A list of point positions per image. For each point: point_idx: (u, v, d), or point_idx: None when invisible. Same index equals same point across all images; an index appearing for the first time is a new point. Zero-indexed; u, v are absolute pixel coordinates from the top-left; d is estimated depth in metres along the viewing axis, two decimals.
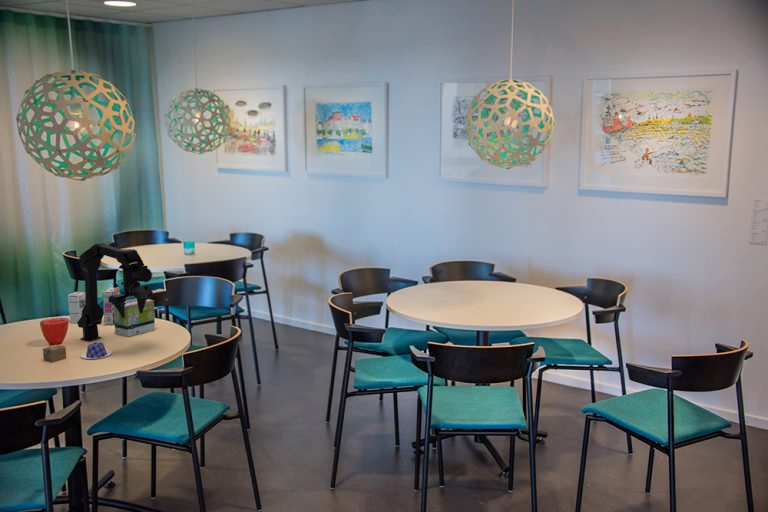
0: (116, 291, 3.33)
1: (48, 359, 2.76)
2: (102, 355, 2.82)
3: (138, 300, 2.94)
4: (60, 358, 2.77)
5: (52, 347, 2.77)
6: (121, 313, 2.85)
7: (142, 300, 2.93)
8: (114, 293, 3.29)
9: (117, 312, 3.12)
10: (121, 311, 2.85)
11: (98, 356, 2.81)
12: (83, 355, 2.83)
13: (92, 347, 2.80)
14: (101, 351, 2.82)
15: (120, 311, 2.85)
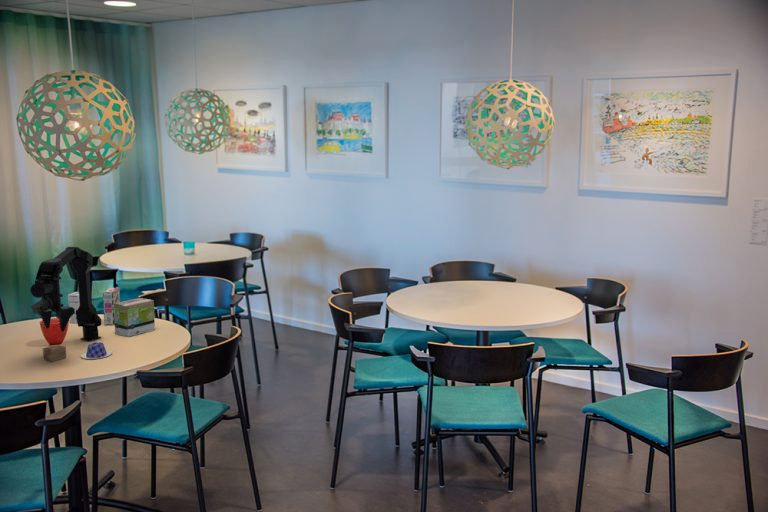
0: (116, 291, 3.33)
1: (48, 359, 2.76)
2: (102, 355, 2.82)
3: None
4: (60, 358, 2.77)
5: (52, 347, 2.77)
6: None
7: None
8: (114, 293, 3.29)
9: (117, 312, 3.12)
10: None
11: (98, 356, 2.81)
12: (83, 355, 2.83)
13: (92, 347, 2.80)
14: (101, 351, 2.82)
15: None
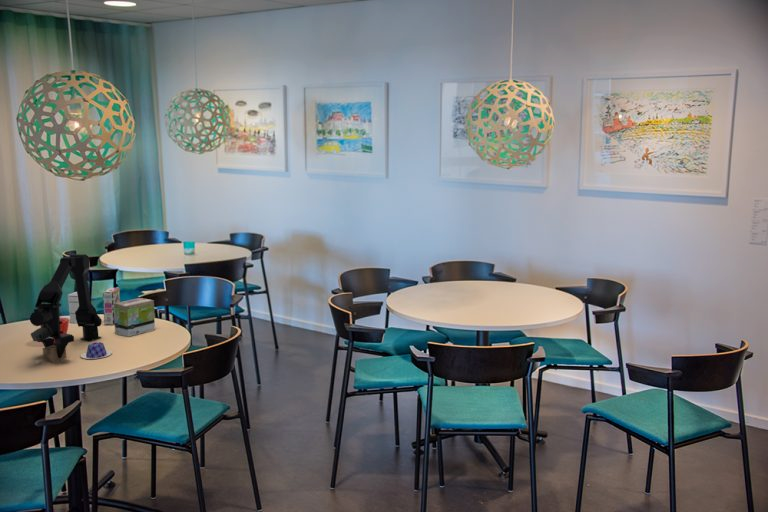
0: (116, 291, 3.33)
1: (48, 359, 2.76)
2: (102, 355, 2.82)
3: None
4: (60, 358, 2.77)
5: (52, 347, 2.77)
6: None
7: None
8: (114, 293, 3.29)
9: (117, 312, 3.12)
10: None
11: (98, 356, 2.81)
12: (83, 355, 2.83)
13: (92, 347, 2.80)
14: (101, 351, 2.82)
15: None
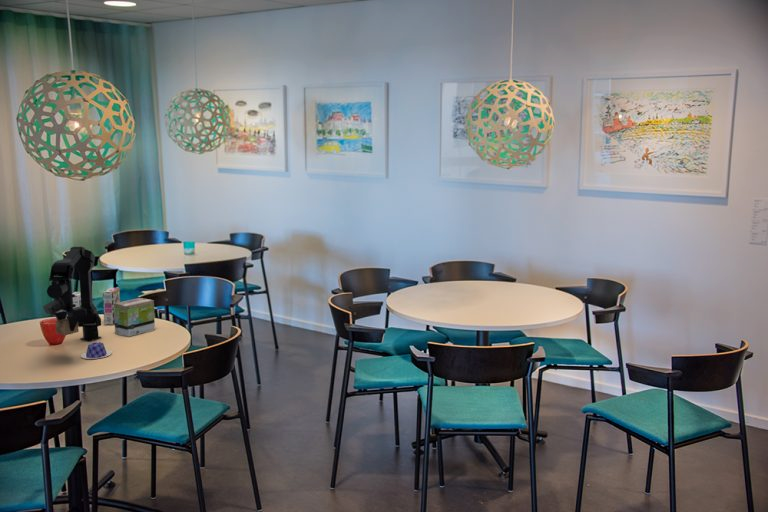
0: (116, 291, 3.33)
1: (60, 332, 2.76)
2: (103, 355, 2.83)
3: None
4: (72, 331, 2.77)
5: (64, 320, 2.77)
6: None
7: None
8: (114, 293, 3.29)
9: (117, 312, 3.12)
10: None
11: (99, 356, 2.81)
12: (83, 355, 2.83)
13: (93, 347, 2.80)
14: (102, 351, 2.82)
15: None
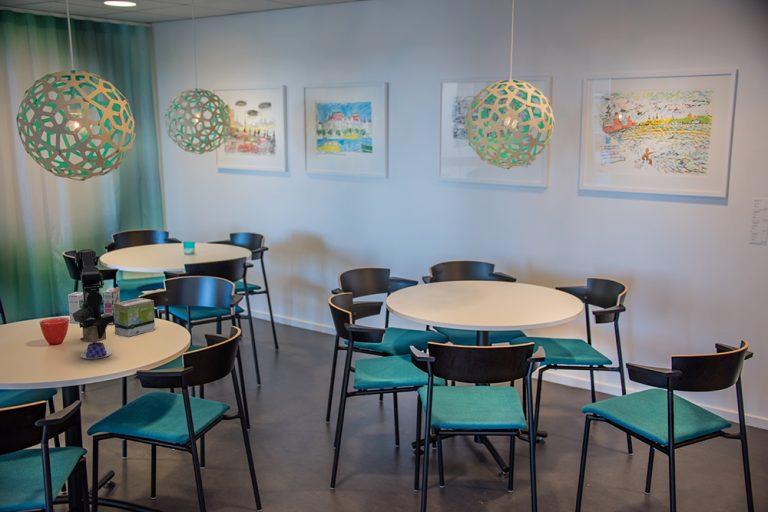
0: (116, 291, 3.33)
1: (89, 339, 2.80)
2: (103, 355, 2.83)
3: None
4: None
5: (92, 327, 2.81)
6: None
7: None
8: (114, 293, 3.29)
9: (117, 312, 3.12)
10: None
11: (99, 356, 2.81)
12: (83, 355, 2.82)
13: (93, 347, 2.80)
14: (102, 351, 2.82)
15: None
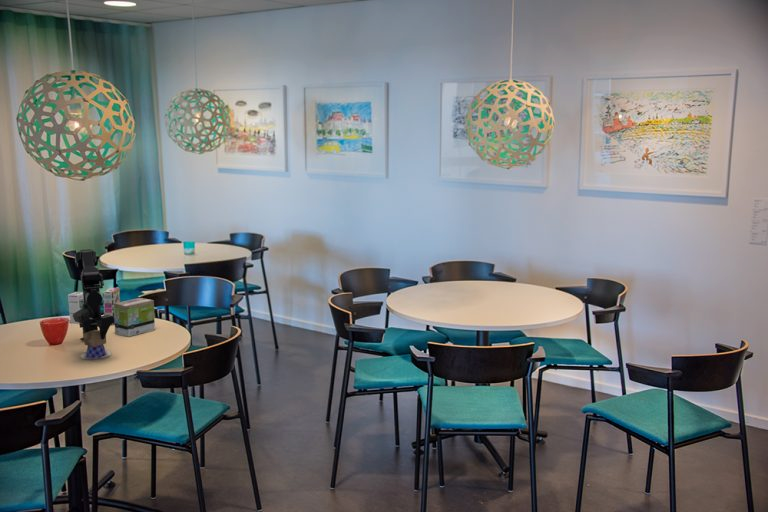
0: (116, 291, 3.33)
1: (89, 344, 2.80)
2: (103, 355, 2.83)
3: None
4: (100, 343, 2.82)
5: (93, 332, 2.82)
6: None
7: None
8: (114, 293, 3.29)
9: (117, 312, 3.12)
10: None
11: (99, 356, 2.81)
12: None
13: (93, 347, 2.80)
14: (102, 351, 2.83)
15: None
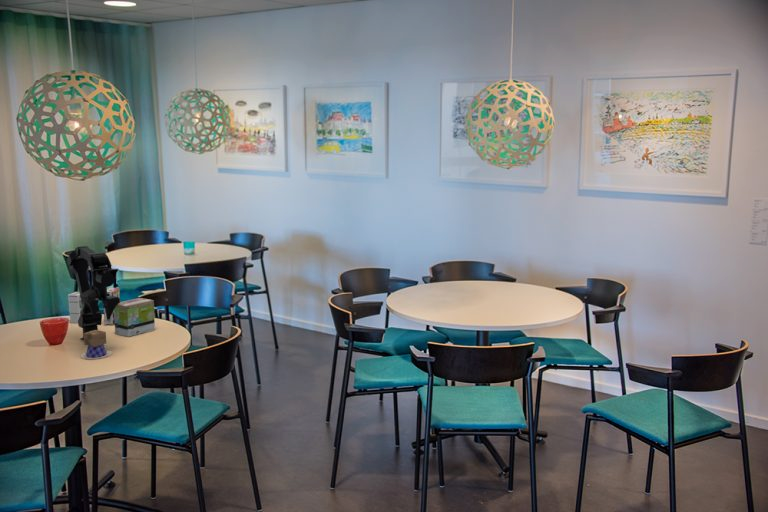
0: (116, 291, 3.33)
1: (89, 344, 2.81)
2: (103, 355, 2.83)
3: None
4: (100, 343, 2.82)
5: (93, 332, 2.82)
6: None
7: None
8: (114, 293, 3.29)
9: (117, 312, 3.12)
10: None
11: (99, 356, 2.81)
12: None
13: (93, 347, 2.81)
14: (102, 351, 2.83)
15: None
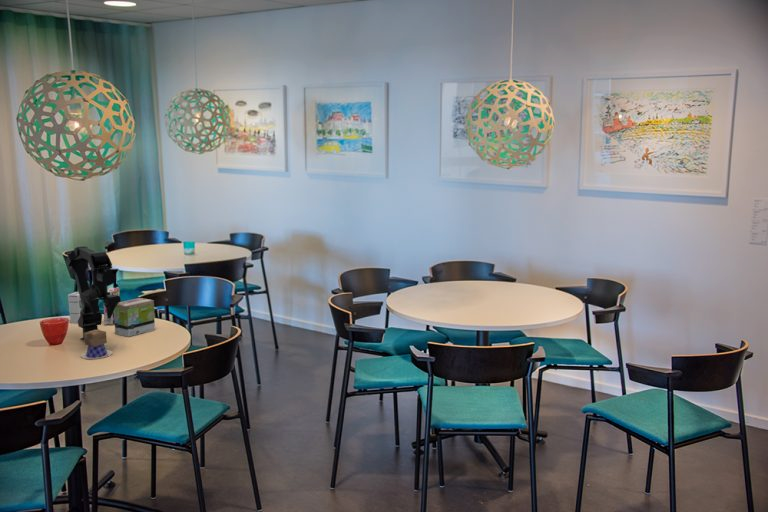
0: (116, 291, 3.33)
1: (89, 343, 2.81)
2: (103, 355, 2.83)
3: None
4: (101, 342, 2.82)
5: (93, 332, 2.82)
6: None
7: None
8: (114, 293, 3.29)
9: (117, 312, 3.12)
10: None
11: (100, 356, 2.82)
12: (83, 355, 2.83)
13: (93, 347, 2.81)
14: (102, 351, 2.83)
15: None
